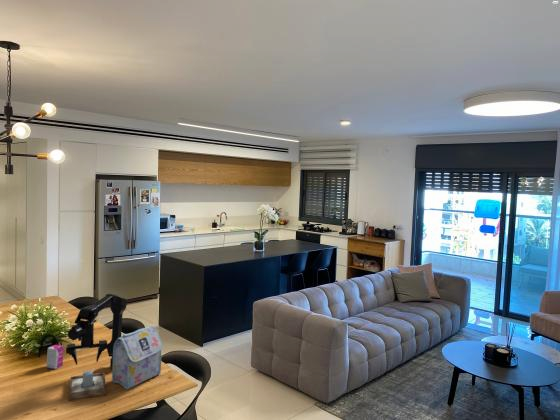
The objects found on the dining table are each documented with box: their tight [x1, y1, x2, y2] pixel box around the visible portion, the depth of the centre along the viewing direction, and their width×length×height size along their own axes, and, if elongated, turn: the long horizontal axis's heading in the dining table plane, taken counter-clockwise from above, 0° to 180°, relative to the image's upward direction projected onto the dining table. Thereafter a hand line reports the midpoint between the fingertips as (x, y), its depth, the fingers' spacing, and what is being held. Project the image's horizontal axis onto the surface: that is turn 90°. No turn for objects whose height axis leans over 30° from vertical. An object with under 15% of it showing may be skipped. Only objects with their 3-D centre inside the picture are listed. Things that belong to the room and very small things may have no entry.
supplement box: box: [46, 344, 64, 371], centre depth 228 cm, size 6×6×12 cm
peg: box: [82, 369, 94, 388], centre depth 206 cm, size 4×4×8 cm
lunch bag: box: [111, 325, 163, 390], centre depth 218 cm, size 22×17×26 cm
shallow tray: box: [68, 372, 106, 401], centre depth 207 cm, size 16×18×4 cm
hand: (86, 363), depth 207 cm, fingers open, 9 cm apart
